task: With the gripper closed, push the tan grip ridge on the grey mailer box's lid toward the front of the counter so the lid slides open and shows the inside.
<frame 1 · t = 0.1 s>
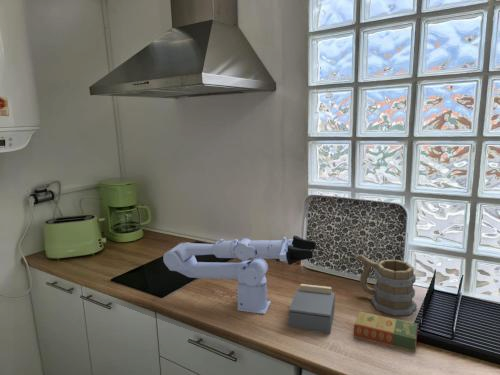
hand: (314, 249, 109), 22 cm above the worktop, tool horizontal, fingers open, 7 cm apart
lid: (312, 298, 110), point 6 cm above the worktop, slide at 0.0 cm
mailer box: (312, 318, 111), on the worktop
carton: (385, 337, 101), on the worktop
tankard: (382, 302, 119), on the worktop
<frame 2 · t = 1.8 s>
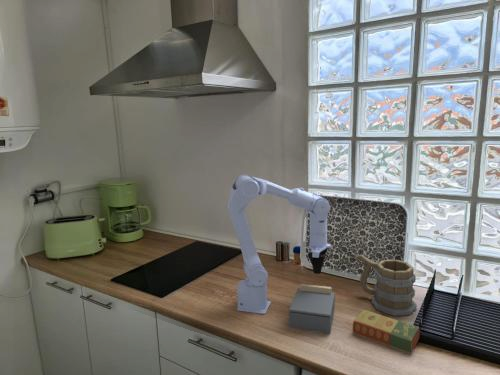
hand: (318, 270, 121), 10 cm above the worktop, tool pointing down, fingers open, 5 cm apart
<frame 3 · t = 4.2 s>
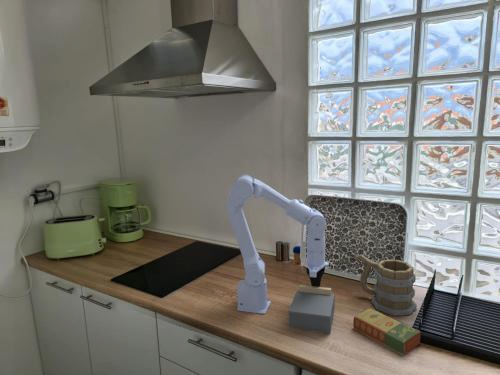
hand: (315, 288, 116), 6 cm above the worktop, tool pointing down, fingers closed
lid: (312, 300, 109), point 7 cm above the worktop, slide at 0.8 cm, touching gripper
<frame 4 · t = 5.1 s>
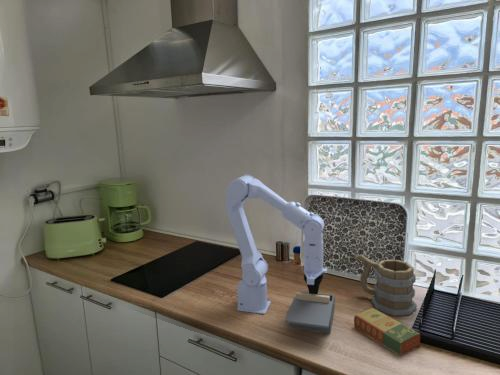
hand: (313, 296, 111), 6 cm above the worktop, tool pointing down, fingers closed
lid: (309, 308, 104), point 6 cm above the worktop, slide at 6.0 cm, touching gripper
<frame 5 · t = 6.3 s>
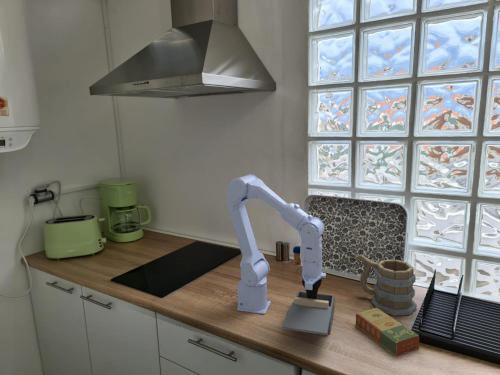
hand: (312, 301, 108), 6 cm above the worktop, tool pointing down, fingers closed
lid: (308, 314, 101), point 6 cm above the worktop, slide at 9.3 cm, touching gripper
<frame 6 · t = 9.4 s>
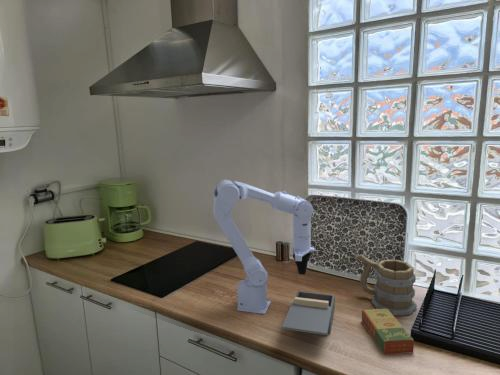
hand: (302, 273, 120), 10 cm above the worktop, tool pointing down, fingers closed
lid: (308, 314, 101), point 7 cm above the worktop, slide at 9.3 cm
at the end: lid slide at 9.3 cm; carton moved 0.6 cm from its start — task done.
